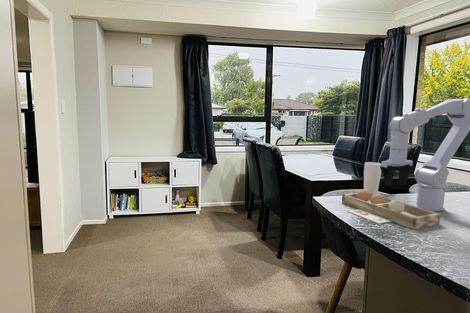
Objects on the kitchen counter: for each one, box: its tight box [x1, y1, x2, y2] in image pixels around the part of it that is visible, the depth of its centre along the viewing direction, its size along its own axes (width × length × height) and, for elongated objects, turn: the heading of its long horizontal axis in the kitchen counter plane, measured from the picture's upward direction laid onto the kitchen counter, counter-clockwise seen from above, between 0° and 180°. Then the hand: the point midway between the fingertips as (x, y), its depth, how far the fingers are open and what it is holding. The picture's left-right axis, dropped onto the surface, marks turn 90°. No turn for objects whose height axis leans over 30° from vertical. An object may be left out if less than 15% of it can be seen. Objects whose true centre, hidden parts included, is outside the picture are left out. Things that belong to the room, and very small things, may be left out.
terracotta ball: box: [371, 193, 386, 204], centre depth 121 cm, size 5×5×5 cm
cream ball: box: [389, 198, 405, 213], centre depth 114 cm, size 5×5×5 cm
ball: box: [356, 189, 370, 202], centre depth 128 cm, size 5×5×5 cm
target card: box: [347, 208, 393, 225], centre depth 113 cm, size 6×14×1 cm, turn 26°
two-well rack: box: [341, 192, 441, 230], centre depth 118 cm, size 13×31×4 cm, turn 26°
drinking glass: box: [363, 161, 382, 194], centre depth 138 cm, size 7×7×15 cm
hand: (395, 185), depth 121 cm, fingers open, 7 cm apart
